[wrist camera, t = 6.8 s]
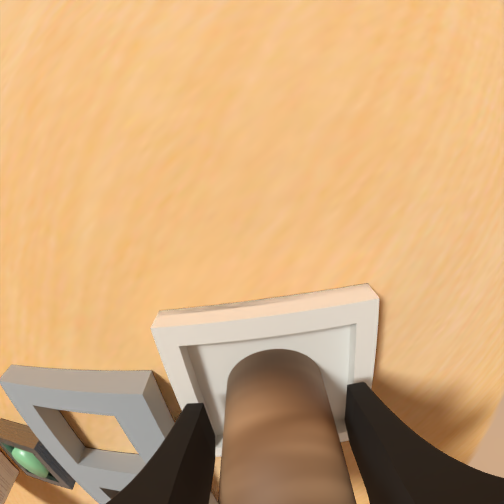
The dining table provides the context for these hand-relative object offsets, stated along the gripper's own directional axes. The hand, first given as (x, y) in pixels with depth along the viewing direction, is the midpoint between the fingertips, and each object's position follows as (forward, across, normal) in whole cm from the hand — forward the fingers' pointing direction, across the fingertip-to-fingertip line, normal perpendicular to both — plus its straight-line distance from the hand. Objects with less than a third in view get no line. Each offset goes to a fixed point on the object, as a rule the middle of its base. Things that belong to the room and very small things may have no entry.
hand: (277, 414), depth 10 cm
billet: (+2, 0, 0) cm, 2 cm away
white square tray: (+2, 0, 0) cm, 2 cm away
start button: (+3, +18, +7) cm, 19 cm away
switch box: (+2, +18, +7) cm, 19 cm away
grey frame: (+2, +10, +7) cm, 12 cm away
